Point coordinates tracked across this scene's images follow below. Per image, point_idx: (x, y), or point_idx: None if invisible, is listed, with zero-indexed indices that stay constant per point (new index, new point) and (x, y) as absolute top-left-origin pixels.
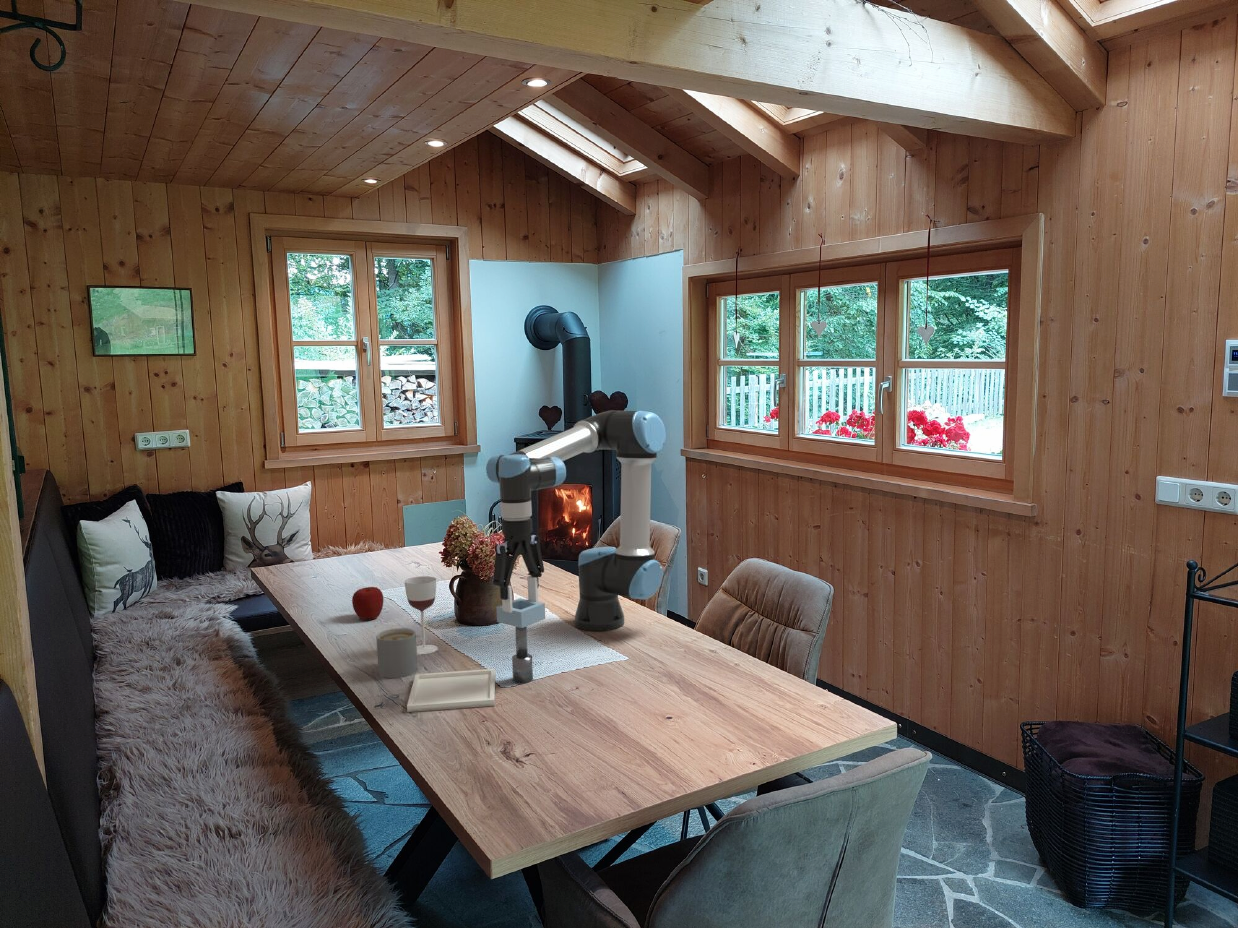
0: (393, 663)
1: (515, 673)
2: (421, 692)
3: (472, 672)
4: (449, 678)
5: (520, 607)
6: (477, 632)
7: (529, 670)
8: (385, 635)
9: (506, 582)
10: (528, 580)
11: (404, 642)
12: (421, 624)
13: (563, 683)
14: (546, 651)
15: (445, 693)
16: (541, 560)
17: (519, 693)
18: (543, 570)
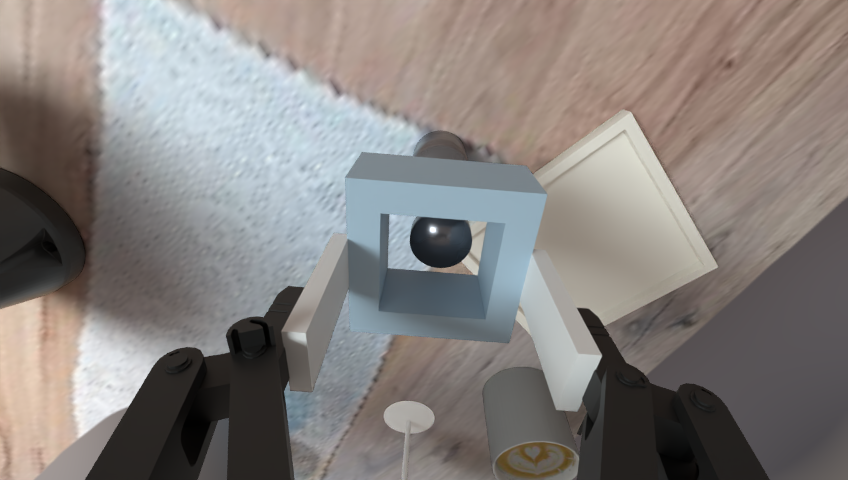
0: None
1: None
2: (614, 295)
3: None
4: None
5: (383, 290)
6: None
7: (444, 138)
8: (528, 478)
9: (646, 395)
10: (319, 363)
11: (554, 434)
12: (407, 470)
13: (404, 30)
14: (256, 225)
15: (603, 252)
16: (114, 461)
17: (524, 103)
18: (173, 357)
